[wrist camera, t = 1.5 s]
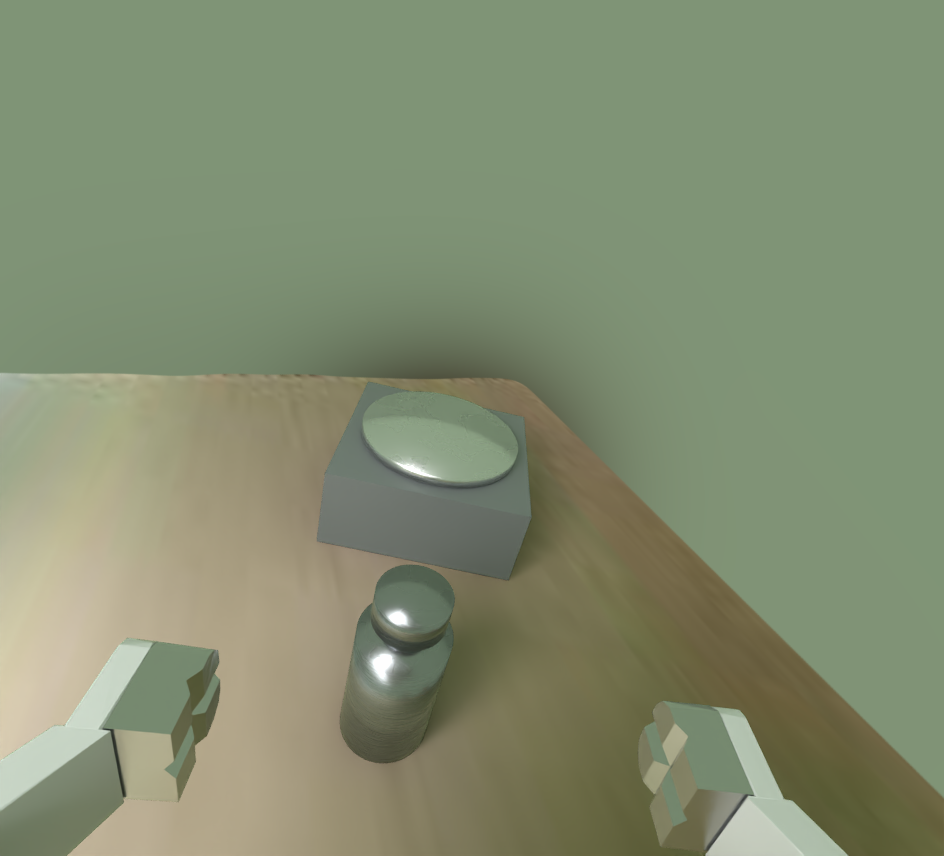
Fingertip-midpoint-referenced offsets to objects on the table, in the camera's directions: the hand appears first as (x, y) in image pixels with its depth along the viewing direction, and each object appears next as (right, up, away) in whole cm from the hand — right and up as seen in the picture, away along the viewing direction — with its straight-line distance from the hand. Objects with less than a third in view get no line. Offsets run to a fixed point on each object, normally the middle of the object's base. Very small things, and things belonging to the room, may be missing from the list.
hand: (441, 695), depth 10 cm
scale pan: (-2, +4, +33) cm, 33 cm away
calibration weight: (-4, -11, +20) cm, 23 cm away
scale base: (-3, -1, +36) cm, 36 cm away
